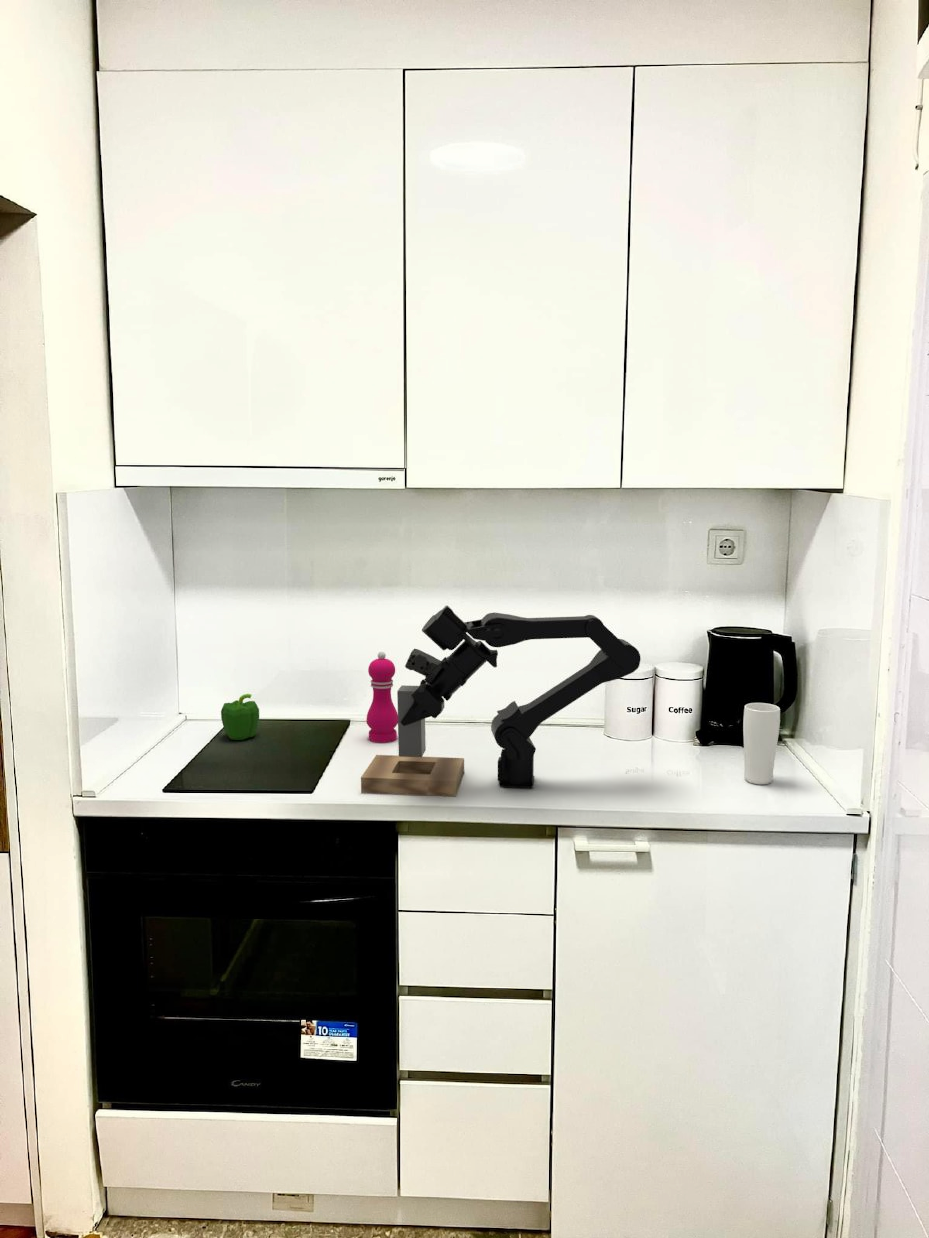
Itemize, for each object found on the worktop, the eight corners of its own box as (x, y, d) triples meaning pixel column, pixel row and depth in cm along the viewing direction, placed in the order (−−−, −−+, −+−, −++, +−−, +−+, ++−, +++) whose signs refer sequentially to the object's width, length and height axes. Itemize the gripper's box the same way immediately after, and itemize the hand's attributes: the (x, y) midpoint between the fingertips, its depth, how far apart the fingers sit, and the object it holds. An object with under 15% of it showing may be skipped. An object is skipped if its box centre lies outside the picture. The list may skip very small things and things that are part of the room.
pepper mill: (397, 743, 214) (396, 655, 211) (364, 743, 214) (363, 655, 211) (399, 734, 221) (399, 648, 218) (368, 734, 221) (367, 648, 218)
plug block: (425, 750, 190) (424, 685, 188) (421, 757, 186) (420, 691, 184) (403, 749, 191) (401, 685, 189) (398, 756, 186) (397, 691, 184)
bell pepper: (216, 742, 215) (214, 698, 213) (230, 731, 223) (228, 689, 222) (252, 743, 214) (250, 699, 212) (265, 733, 222) (263, 690, 220)
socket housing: (464, 772, 195) (464, 758, 194) (455, 796, 181) (455, 781, 181) (376, 768, 197) (376, 754, 196) (361, 792, 183) (360, 777, 183)
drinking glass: (761, 773, 194) (765, 701, 192) (783, 784, 188) (788, 709, 186) (733, 777, 192) (736, 704, 189) (754, 788, 186) (758, 712, 183)
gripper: (437, 627, 193) (384, 680, 196) (422, 645, 175) (364, 703, 178) (477, 666, 193) (423, 718, 197) (465, 689, 175) (407, 746, 178)
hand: (404, 720), depth 187 cm, fingers closed on plug block, 4 cm apart
